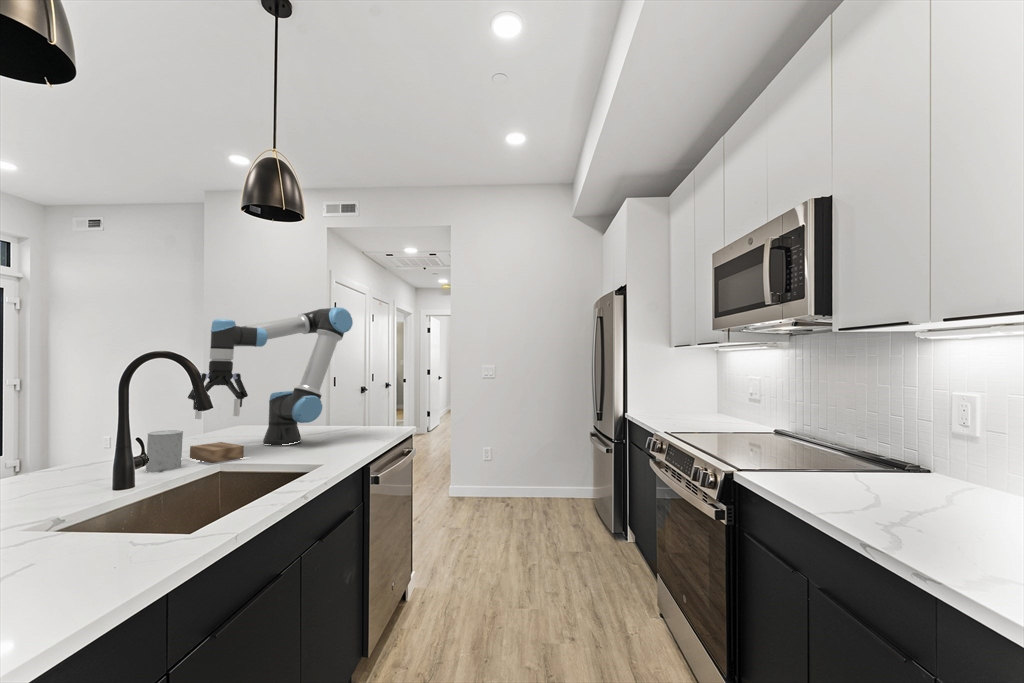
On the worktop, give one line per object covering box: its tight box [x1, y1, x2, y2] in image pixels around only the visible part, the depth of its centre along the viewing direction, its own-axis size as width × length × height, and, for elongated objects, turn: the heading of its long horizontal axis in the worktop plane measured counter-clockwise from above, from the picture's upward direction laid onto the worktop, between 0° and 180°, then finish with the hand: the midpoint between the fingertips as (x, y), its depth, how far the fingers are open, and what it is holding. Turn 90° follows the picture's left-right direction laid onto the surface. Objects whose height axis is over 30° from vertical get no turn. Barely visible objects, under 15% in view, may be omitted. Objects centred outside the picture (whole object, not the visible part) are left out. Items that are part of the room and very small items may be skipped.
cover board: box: [189, 441, 245, 463], centre depth 170 cm, size 11×15×4 cm
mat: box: [197, 459, 242, 466], centre depth 170 cm, size 16×20×1 cm
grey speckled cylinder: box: [145, 429, 184, 473], centre depth 154 cm, size 10×10×12 cm
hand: (217, 417), depth 171 cm, fingers open, 13 cm apart
